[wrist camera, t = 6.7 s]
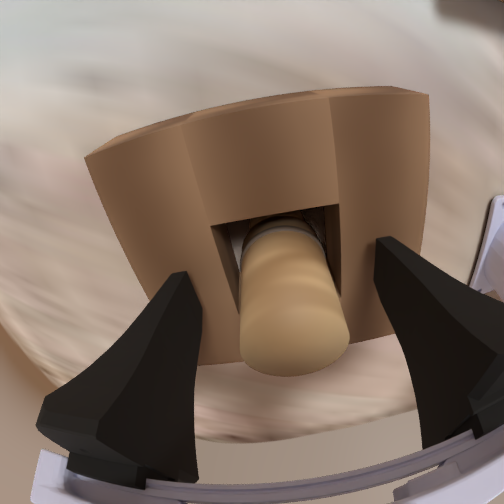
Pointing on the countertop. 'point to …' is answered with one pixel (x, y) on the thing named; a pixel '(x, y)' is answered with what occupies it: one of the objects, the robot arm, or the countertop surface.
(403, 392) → the countertop surface
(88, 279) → the countertop surface
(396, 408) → the countertop surface
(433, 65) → the countertop surface
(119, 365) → the robot arm
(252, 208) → the walnut block
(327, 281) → the peg
